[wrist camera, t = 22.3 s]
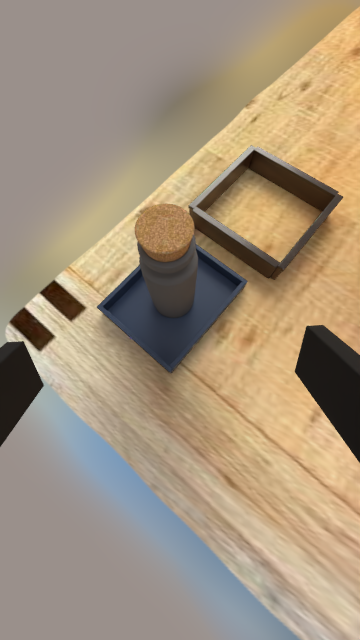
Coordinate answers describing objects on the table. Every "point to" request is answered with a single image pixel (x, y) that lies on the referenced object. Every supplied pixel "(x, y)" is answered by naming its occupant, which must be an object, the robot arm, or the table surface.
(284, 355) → the table surface
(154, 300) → the bottle
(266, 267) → the dark brown square frame
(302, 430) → the table surface
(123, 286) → the tray
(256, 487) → the table surface
